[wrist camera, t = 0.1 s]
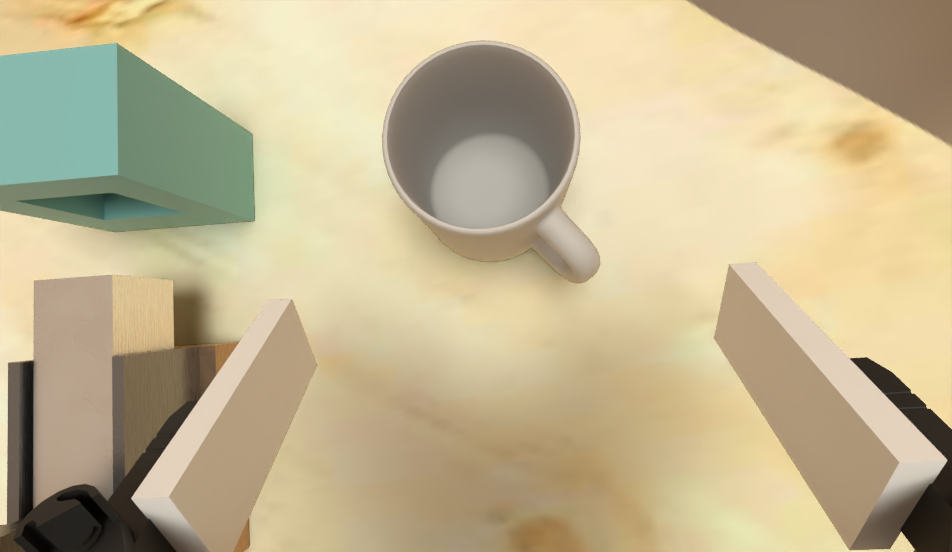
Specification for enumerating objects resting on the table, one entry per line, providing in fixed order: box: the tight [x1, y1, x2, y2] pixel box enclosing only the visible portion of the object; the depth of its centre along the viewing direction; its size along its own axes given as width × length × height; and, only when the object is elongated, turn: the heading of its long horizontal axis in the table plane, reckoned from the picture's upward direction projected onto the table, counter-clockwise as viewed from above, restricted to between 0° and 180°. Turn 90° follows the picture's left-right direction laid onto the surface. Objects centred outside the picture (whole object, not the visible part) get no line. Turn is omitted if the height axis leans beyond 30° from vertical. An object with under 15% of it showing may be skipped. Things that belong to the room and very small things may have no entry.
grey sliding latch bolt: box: [0, 275, 174, 552], centre depth 20 cm, size 16×4×15 cm, turn 4°
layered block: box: [7, 342, 249, 552], centre depth 27 cm, size 13×8×8 cm, turn 4°
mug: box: [382, 41, 600, 283], centre depth 25 cm, size 12×8×11 cm
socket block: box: [0, 43, 255, 232], centre depth 27 cm, size 6×10×11 cm, turn 94°
